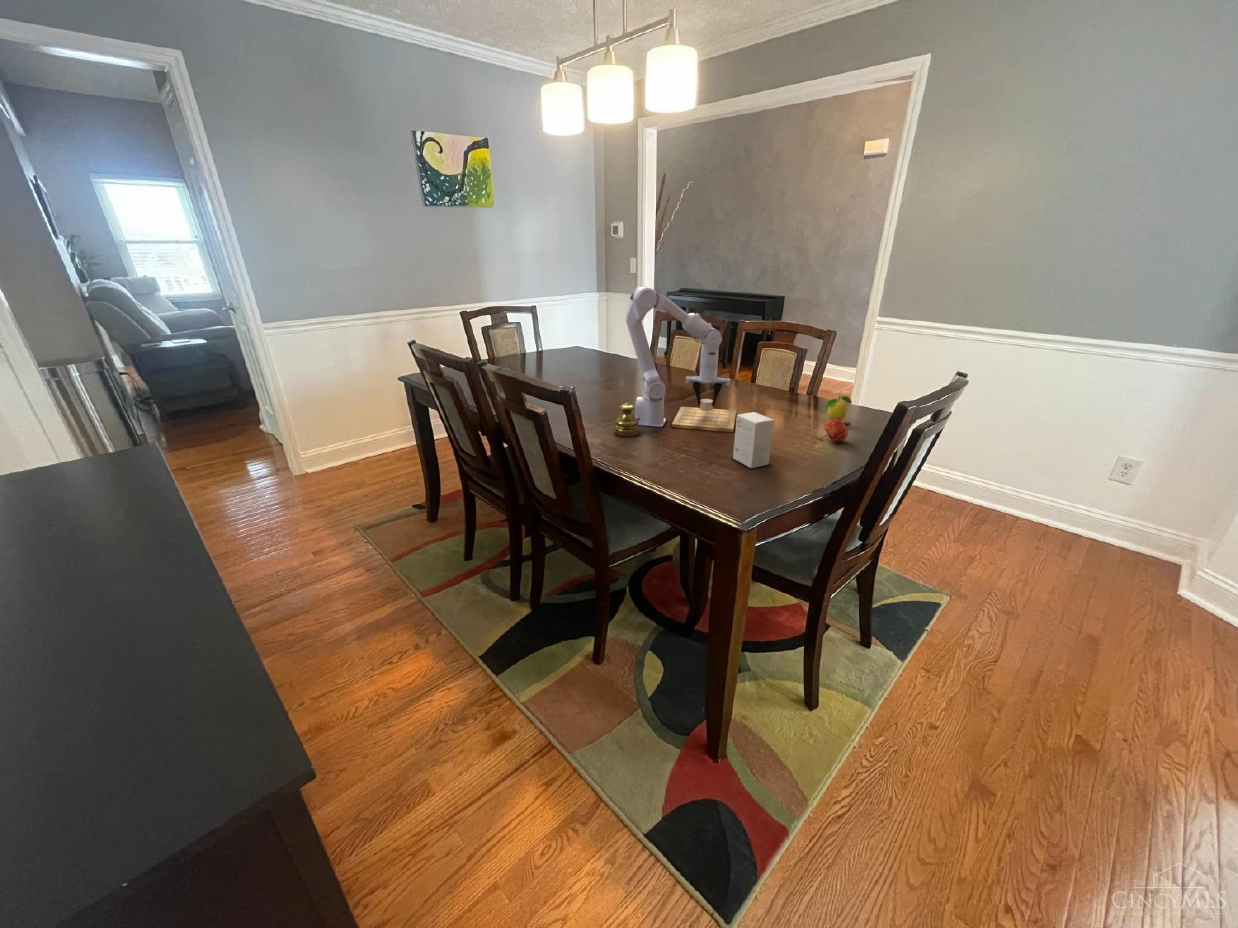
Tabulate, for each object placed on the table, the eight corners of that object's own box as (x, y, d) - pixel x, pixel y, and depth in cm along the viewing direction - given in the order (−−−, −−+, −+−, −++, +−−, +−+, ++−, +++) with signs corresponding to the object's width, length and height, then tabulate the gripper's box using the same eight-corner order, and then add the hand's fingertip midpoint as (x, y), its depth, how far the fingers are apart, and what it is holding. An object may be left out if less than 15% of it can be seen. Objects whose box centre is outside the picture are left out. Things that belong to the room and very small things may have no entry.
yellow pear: (848, 422, 166) (853, 393, 162) (842, 426, 162) (848, 397, 158) (828, 418, 170) (833, 390, 166) (822, 422, 166) (827, 394, 162)
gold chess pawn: (612, 431, 160) (611, 401, 156) (632, 428, 163) (632, 399, 159) (621, 438, 154) (621, 408, 150) (642, 435, 157) (643, 404, 153)
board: (671, 427, 163) (671, 423, 163) (680, 409, 181) (680, 406, 180) (733, 432, 158) (733, 428, 158) (736, 413, 176) (736, 410, 175)
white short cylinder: (698, 410, 167) (699, 402, 165) (700, 406, 170) (700, 398, 169) (712, 411, 165) (712, 403, 164) (713, 407, 169) (713, 399, 168)
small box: (769, 464, 134) (774, 419, 129) (750, 469, 132) (755, 423, 127) (749, 454, 141) (754, 411, 136) (732, 458, 139) (736, 414, 133)
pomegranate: (822, 451, 149) (854, 437, 143) (810, 430, 149) (841, 415, 143) (827, 446, 155) (858, 432, 148) (816, 426, 155) (846, 411, 149)
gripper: (685, 366, 160) (683, 406, 166) (730, 368, 156) (727, 409, 162) (688, 362, 166) (686, 400, 172) (731, 364, 163) (728, 403, 168)
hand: (706, 404), depth 167 cm, fingers closed on white short cylinder, 4 cm apart
